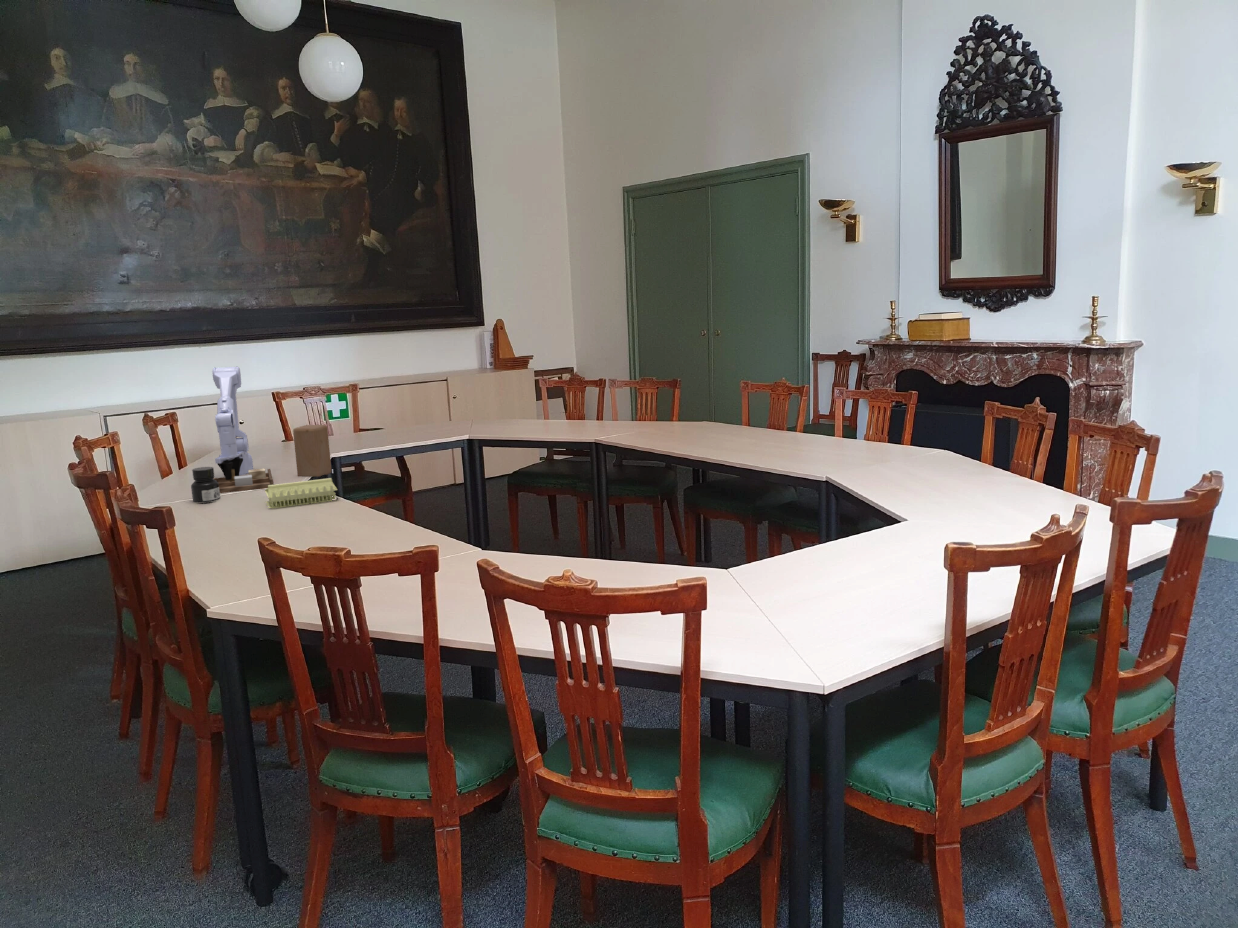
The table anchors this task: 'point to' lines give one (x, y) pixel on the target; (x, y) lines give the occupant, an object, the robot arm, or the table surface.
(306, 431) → the wooden block
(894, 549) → the table surface
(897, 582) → the table surface
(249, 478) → the grey block
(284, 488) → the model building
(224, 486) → the lane shelf
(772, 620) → the table surface
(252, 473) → the birch block
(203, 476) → the ink bottle
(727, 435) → the table surface
